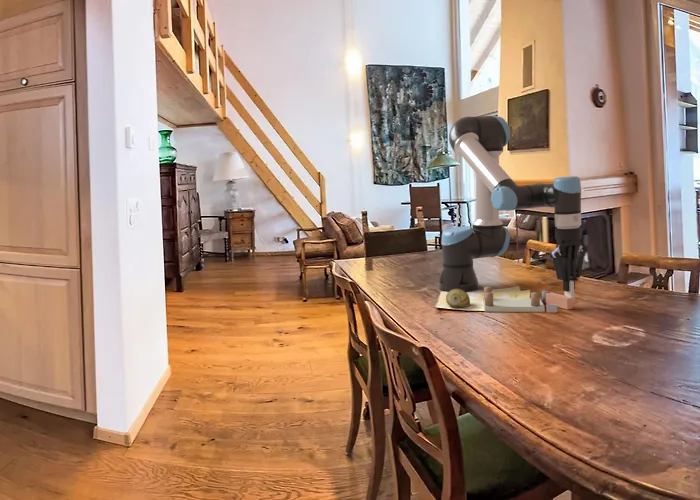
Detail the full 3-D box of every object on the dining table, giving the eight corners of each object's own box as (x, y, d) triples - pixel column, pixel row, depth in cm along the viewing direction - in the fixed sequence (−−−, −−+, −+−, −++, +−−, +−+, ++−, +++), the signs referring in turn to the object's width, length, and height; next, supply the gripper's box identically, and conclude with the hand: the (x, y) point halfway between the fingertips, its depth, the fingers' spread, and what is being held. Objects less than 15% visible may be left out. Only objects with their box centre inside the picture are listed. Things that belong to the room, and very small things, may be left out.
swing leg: (540, 301, 161) (540, 291, 161) (546, 300, 162) (546, 290, 162) (566, 309, 151) (566, 298, 150) (573, 308, 152) (573, 297, 151)
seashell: (457, 314, 168) (442, 296, 170) (473, 300, 167) (458, 283, 169) (458, 316, 159) (441, 298, 160) (474, 303, 158) (458, 284, 159)
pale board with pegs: (484, 312, 154) (484, 295, 153) (483, 302, 165) (483, 286, 165) (557, 312, 149) (557, 294, 148) (550, 302, 160) (550, 286, 159)
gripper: (561, 230, 144) (562, 306, 148) (593, 225, 149) (594, 299, 152) (542, 228, 151) (544, 301, 155) (574, 223, 155) (575, 294, 159)
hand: (569, 300), depth 153 cm, fingers closed
